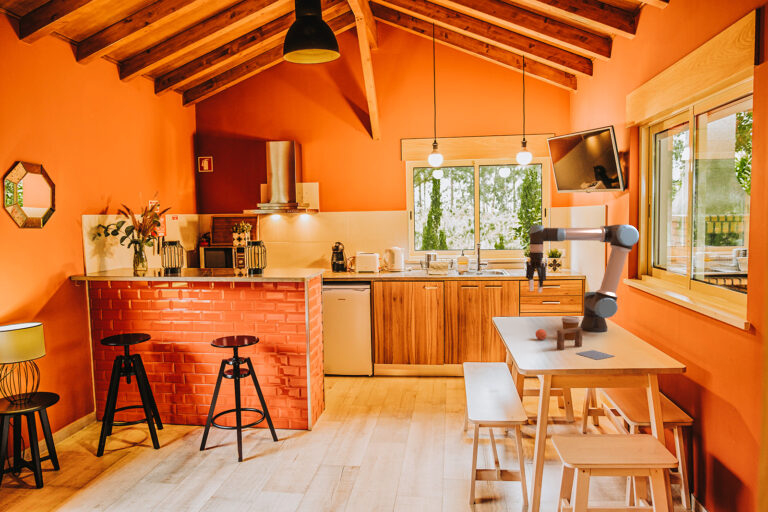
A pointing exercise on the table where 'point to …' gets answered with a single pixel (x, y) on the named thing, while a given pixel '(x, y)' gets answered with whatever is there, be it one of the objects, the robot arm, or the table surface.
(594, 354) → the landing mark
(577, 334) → the bridge
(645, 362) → the table surface
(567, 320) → the disposable coffee cup
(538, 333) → the ball
